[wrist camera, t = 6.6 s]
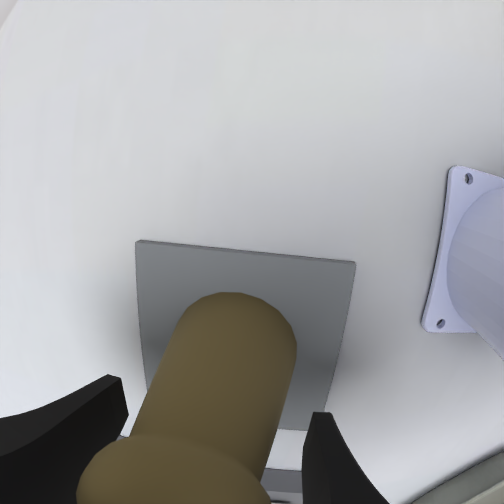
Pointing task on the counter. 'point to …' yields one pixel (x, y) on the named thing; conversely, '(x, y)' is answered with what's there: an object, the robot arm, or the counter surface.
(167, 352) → the cork
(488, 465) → the cake pan
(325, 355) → the slate mat
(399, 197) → the counter surface
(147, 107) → the counter surface
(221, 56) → the counter surface
